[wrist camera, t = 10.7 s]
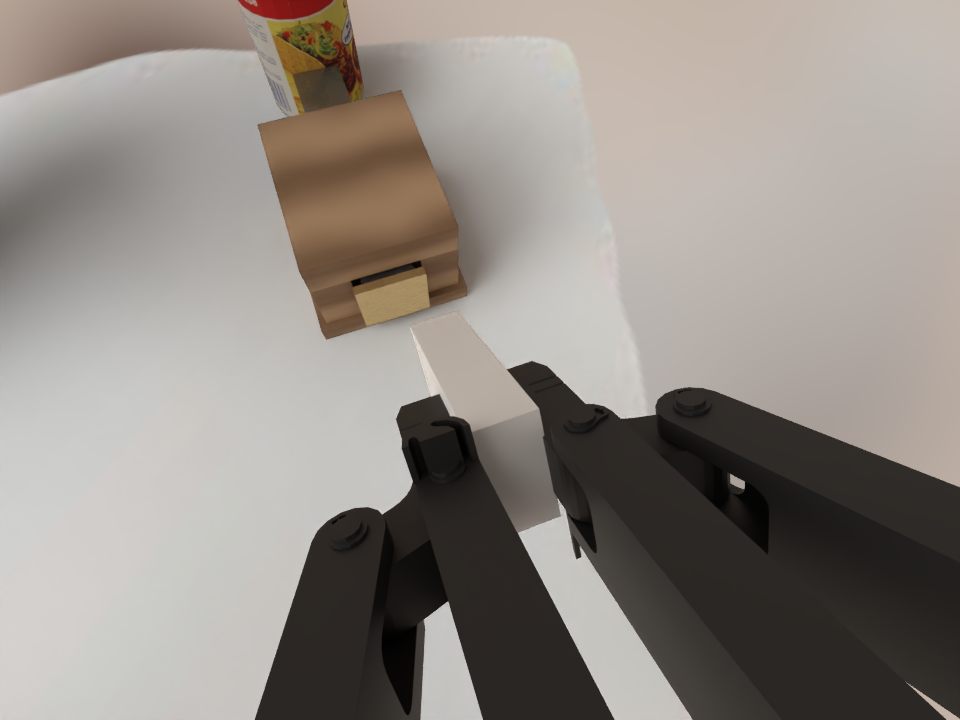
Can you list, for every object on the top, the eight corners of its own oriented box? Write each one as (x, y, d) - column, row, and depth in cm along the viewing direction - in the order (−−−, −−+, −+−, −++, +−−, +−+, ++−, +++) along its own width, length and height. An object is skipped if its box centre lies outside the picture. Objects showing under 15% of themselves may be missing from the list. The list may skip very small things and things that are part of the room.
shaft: (430, 307, 40) (426, 273, 35) (366, 326, 39) (354, 295, 34) (354, 105, 46) (343, 56, 42) (299, 118, 46) (282, 69, 41)
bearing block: (466, 295, 41) (468, 230, 34) (326, 339, 40) (293, 281, 32) (414, 167, 46) (405, 83, 38) (286, 201, 44) (248, 121, 36)
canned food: (381, 93, 49) (358, -50, 38) (313, 139, 46) (267, 3, 35) (325, 47, 51) (288, -102, 39) (257, 90, 48) (196, -55, 37)
